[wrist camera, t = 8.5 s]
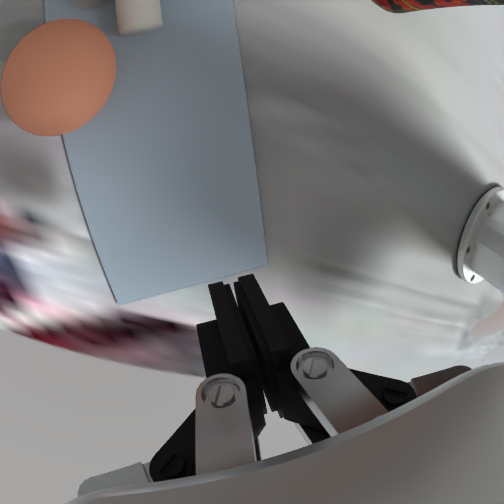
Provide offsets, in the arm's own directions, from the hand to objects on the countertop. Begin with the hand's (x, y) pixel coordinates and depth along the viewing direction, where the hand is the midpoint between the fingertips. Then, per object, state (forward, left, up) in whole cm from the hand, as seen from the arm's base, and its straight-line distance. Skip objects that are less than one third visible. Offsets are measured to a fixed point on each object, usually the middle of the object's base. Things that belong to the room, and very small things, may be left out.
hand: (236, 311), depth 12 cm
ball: (+6, -10, -7) cm, 14 cm away
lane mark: (+1, -8, -10) cm, 13 cm away
